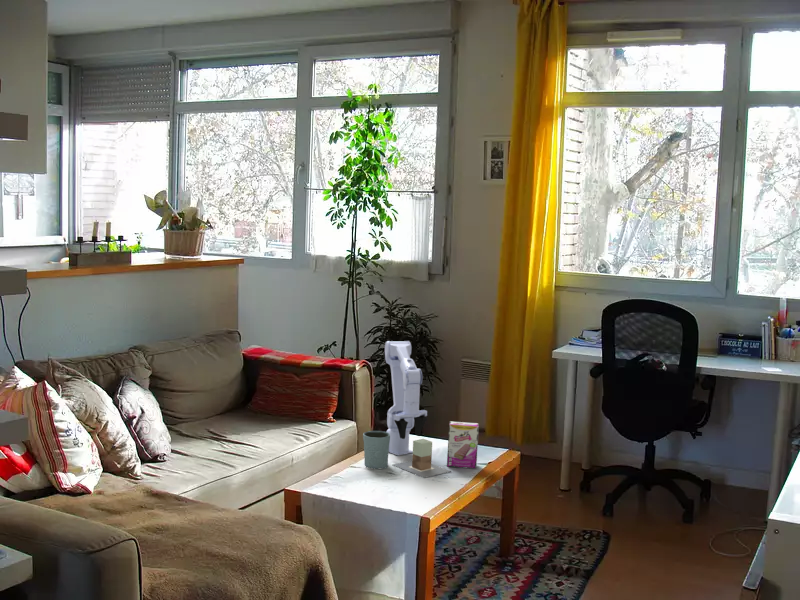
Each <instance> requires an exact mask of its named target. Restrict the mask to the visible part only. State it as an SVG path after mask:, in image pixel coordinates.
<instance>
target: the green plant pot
mask: <svg viewBox="0 0 800 600" xmlns="http://www.w3.org/2000/svg"><path fill="white" fill-rule="evenodd" d="M362 439H363V440H362V441H363V451H364V453H363V455H364V457H363V458H364V466H366V468H367V467H368V468H367V469H371V468H373V469H372V470H379V469H378V468H383V469H386V468H387V467H388V465H389V453H390V452H389V443H390V434H389V433H388V432H387V431H385V430H384V431H382V430H369V431H365V432H363V434H362ZM385 467H386V468H385ZM374 468H375V469H374Z"/></svg>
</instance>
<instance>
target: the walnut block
mask: <svg viewBox="0 0 800 600" xmlns="http://www.w3.org/2000/svg"><path fill="white" fill-rule="evenodd" d="M432 455H433V454H432ZM432 455H430V456H425V457H420V456H417V455H414V454H413V453H412V455H411V457H412V458H411V459H412V460H411V461H412V467H413V468H416V469H418V470H425V469H430V468H431V464H432Z"/></svg>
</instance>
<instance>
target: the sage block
mask: <svg viewBox="0 0 800 600" xmlns="http://www.w3.org/2000/svg"><path fill="white" fill-rule="evenodd" d="M412 451H413V453H412V455H413V454H414V455H417V456H420V457H425V456H430V455H433V441H431V440H427V439H424V438H420V439H415V440H412Z"/></svg>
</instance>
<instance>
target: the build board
mask: <svg viewBox="0 0 800 600" xmlns="http://www.w3.org/2000/svg"><path fill="white" fill-rule="evenodd" d="M393 465H394V466H393ZM392 466H393V467H395V466H396V468H398V467H399V468H398V469H400V468H401V470H403V471H405V470H406V471H405V472H408V473H410V472H411V473H410V474H413V475H415V474H416V476H418V477H420V476H421V478H423V479H426V478H432V477H435V476H439V474H440V475H444V474H448V473H451V472H452V471H451V470H449V469H446V468H443V467H441V466H438V465H435V464H433V463H431V468H430V469H425V470H418V469H416V468H413V467H412V460H408V461H403V462H399V463H393V464H392ZM447 472H448V473H447ZM443 473H444V474H443Z"/></svg>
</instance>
